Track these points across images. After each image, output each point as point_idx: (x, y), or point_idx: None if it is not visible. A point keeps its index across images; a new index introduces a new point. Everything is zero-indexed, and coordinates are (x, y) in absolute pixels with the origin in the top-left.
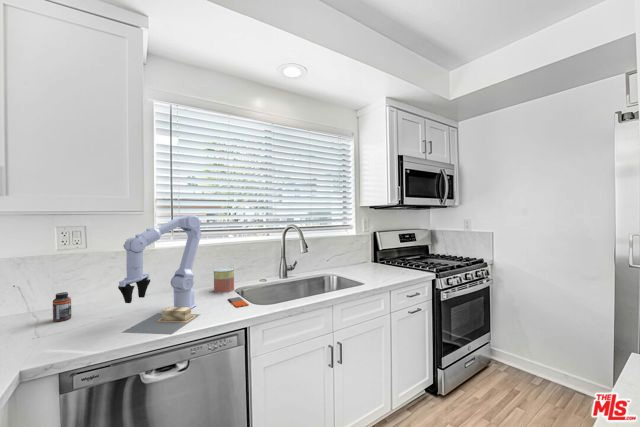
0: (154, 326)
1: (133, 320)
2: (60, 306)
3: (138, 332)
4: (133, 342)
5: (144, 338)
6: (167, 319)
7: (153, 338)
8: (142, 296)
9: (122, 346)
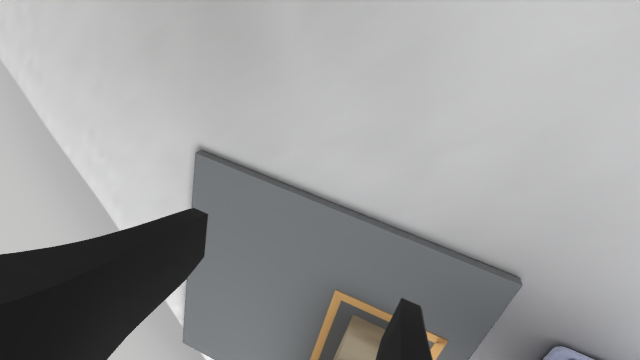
0: (260, 286)
1: (424, 140)
2: None
3: None
4: None
5: None
6: (343, 337)
7: None
8: (381, 342)
9: (100, 200)
